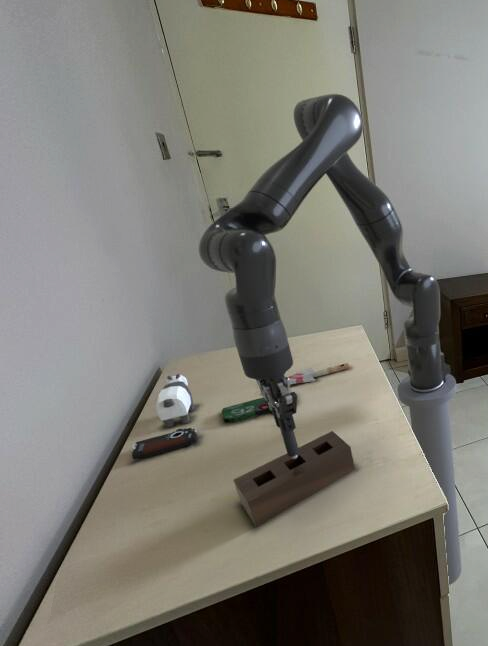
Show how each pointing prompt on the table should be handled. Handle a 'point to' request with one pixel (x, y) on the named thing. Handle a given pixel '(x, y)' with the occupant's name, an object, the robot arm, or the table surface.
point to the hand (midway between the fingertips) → (286, 427)
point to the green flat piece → (245, 410)
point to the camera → (164, 443)
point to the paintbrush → (314, 373)
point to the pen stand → (293, 477)
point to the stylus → (290, 443)
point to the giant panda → (175, 401)
